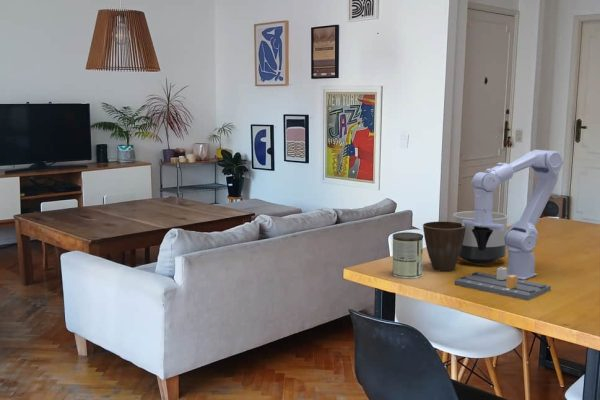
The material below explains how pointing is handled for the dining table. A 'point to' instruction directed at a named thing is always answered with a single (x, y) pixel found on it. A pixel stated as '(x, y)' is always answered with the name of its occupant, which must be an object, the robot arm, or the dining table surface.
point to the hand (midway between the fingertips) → (481, 249)
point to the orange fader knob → (511, 281)
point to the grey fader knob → (501, 273)
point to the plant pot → (444, 243)
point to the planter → (494, 244)
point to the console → (502, 286)
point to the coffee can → (407, 255)
